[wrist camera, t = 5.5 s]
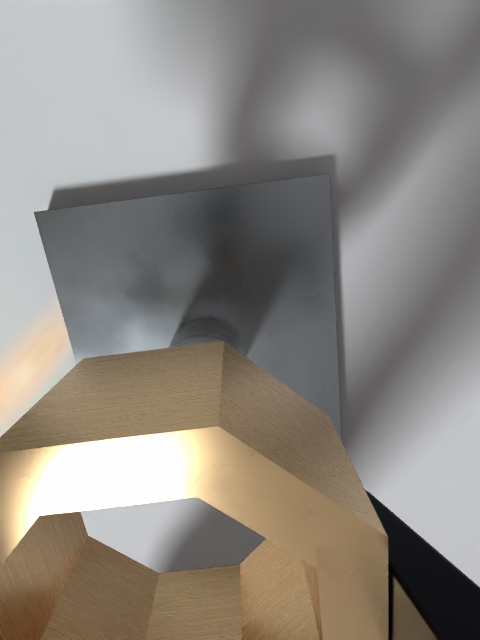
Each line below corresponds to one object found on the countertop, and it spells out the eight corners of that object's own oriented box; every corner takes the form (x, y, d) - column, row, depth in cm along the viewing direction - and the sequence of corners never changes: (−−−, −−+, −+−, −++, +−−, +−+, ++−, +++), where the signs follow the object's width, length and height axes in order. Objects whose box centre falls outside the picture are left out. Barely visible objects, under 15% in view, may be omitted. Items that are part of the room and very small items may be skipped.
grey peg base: (337, 452, 19) (388, 568, 13) (118, 477, 19) (63, 605, 13) (323, 176, 15) (389, 147, 9) (46, 212, 15) (-86, 209, 9)
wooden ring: (338, 582, 9) (388, 753, 6) (73, 612, 9) (0, 794, 6) (324, 328, 7) (387, 405, 4) (-16, 370, 7) (-182, 474, 4)
